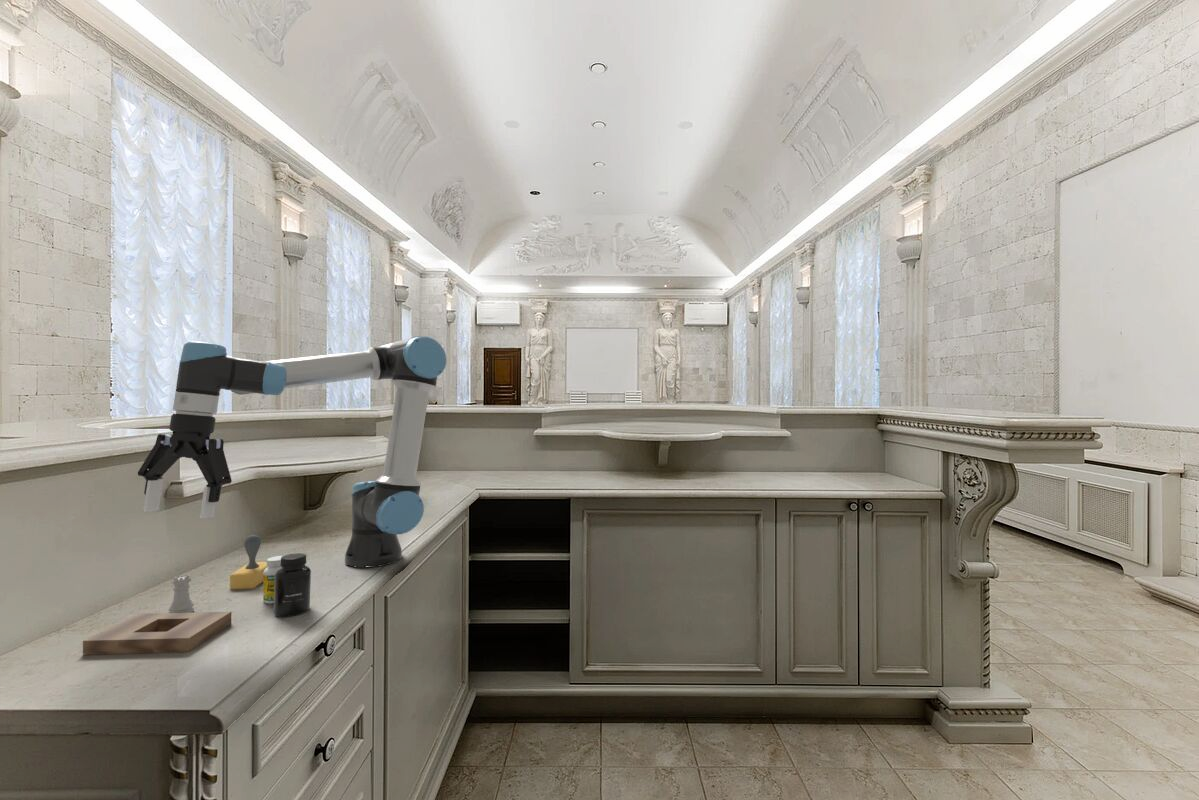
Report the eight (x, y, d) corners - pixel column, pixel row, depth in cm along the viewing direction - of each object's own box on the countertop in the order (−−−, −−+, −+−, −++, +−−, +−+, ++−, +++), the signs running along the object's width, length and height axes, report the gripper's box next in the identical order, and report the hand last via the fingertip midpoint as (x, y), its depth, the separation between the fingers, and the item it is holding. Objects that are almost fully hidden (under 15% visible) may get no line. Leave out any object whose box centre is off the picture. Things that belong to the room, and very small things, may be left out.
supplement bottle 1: (290, 593, 122) (290, 553, 122) (291, 601, 117) (291, 559, 117) (262, 598, 119) (263, 557, 119) (262, 606, 114) (263, 563, 114)
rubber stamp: (249, 576, 134) (249, 530, 134) (273, 575, 135) (273, 529, 136) (229, 589, 125) (229, 540, 125) (255, 588, 126) (256, 539, 126)
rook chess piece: (164, 619, 107) (164, 581, 107) (171, 611, 111) (172, 574, 111) (190, 616, 109) (191, 578, 109) (197, 608, 113) (197, 572, 113)
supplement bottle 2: (289, 619, 107) (290, 562, 107) (266, 614, 109) (266, 558, 110) (317, 607, 114) (318, 553, 114) (295, 603, 116) (295, 550, 116)
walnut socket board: (231, 623, 105) (231, 611, 105) (188, 651, 93) (188, 638, 93) (138, 626, 104) (138, 613, 104) (82, 654, 92) (82, 640, 92)
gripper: (126, 408, 108) (109, 510, 106) (231, 417, 104) (215, 523, 102) (161, 411, 115) (145, 506, 113) (260, 419, 111) (245, 518, 109)
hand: (178, 514), depth 107 cm, fingers open, 13 cm apart
